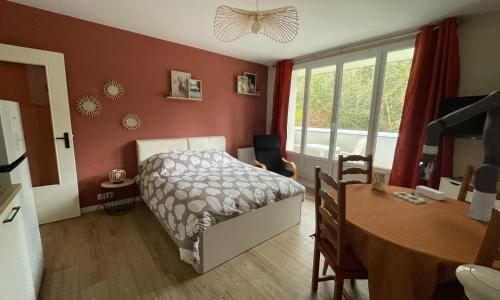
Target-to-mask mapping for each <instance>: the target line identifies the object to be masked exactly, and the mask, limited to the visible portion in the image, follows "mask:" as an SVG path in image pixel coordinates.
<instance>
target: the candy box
mask: <svg viewBox="0 0 500 300" xmlns="http://www.w3.org/2000/svg"><path fill="white" fill-rule="evenodd" d="M371 174H372V175H371V184H370V190H372V189H373V190H379V191H384V190H385V185H386V178H387V172H384V171H381V170H379V171H378V170H373V171H372V173H371Z"/></svg>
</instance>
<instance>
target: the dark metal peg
mask: <svg viewBox="0 0 500 300" xmlns="http://www.w3.org/2000/svg"><path fill="white" fill-rule="evenodd" d="M424 168H425V167H424ZM424 170H425V169H424ZM430 170H431V167H430V168H428V170H426V174H425V178H421V179H422V180H424V181H425V180H427V181H428V180H430V178H429V176H430V177H431V175H430Z"/></svg>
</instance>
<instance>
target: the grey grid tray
mask: <svg viewBox="0 0 500 300" xmlns="http://www.w3.org/2000/svg"><path fill="white" fill-rule="evenodd" d="M405 193H407V194H410V195H413V196H415V197H418V198H421V199H423V200H426V203H427V204H431V203H432V204H433V203H436V201H435V200H432V199H431V198H430V199H429V198H428V197H425V196H424V197H423V196H422V195H418V194H417V193H416V190H415V191H414V190H411V192H410V191H405Z"/></svg>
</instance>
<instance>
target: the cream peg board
mask: <svg viewBox="0 0 500 300" xmlns="http://www.w3.org/2000/svg"><path fill="white" fill-rule="evenodd" d="M405 192H406V191H405ZM405 192H404V191H395V192H393V191H392V192H391V193H390V194H391V195H392V196H393V197H396V198H398V199H402V200H404V201H405V202H408V203H411V204H413V205H417V204H425V203H427V202H426V200H423V199H421V198H418V197H415V196H413V195H410V194H407V193H405Z"/></svg>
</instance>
